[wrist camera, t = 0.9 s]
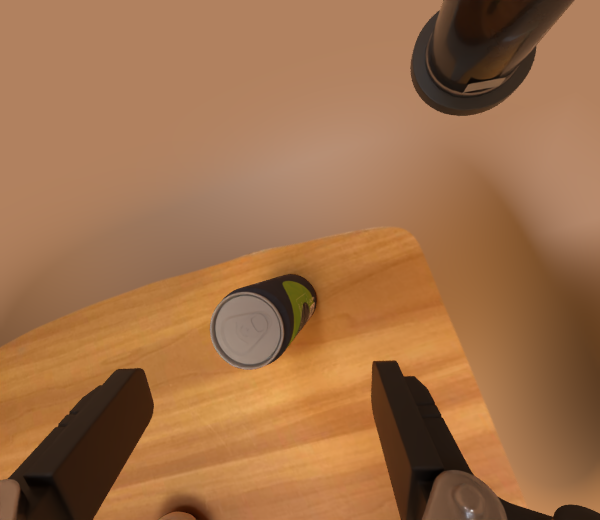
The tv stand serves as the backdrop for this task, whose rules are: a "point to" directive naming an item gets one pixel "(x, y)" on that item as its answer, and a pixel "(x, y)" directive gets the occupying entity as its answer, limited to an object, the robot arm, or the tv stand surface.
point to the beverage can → (261, 320)
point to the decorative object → (177, 516)
